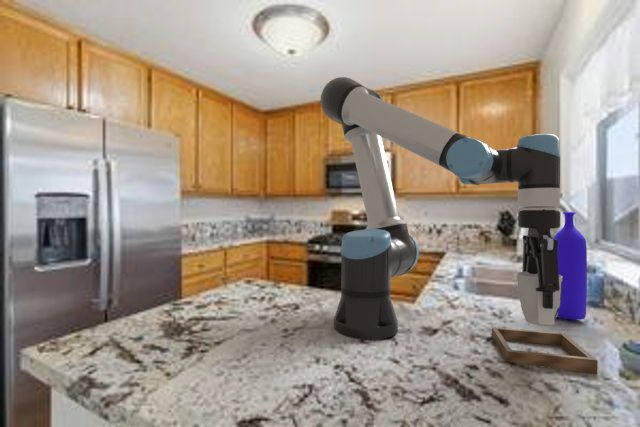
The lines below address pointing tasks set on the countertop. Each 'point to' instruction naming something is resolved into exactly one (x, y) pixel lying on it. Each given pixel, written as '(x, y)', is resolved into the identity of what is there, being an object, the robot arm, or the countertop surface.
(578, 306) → the bottle
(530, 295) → the cup
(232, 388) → the countertop surface
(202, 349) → the countertop surface
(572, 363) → the tray
